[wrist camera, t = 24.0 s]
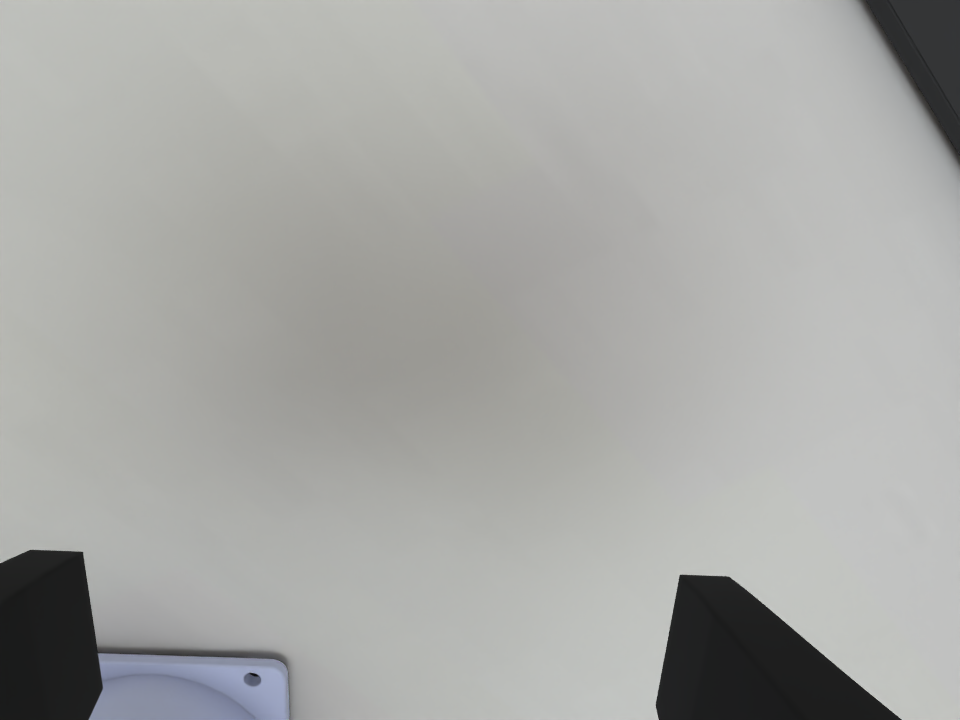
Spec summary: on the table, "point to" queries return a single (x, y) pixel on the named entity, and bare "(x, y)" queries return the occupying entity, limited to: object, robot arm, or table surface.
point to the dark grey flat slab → (928, 51)
